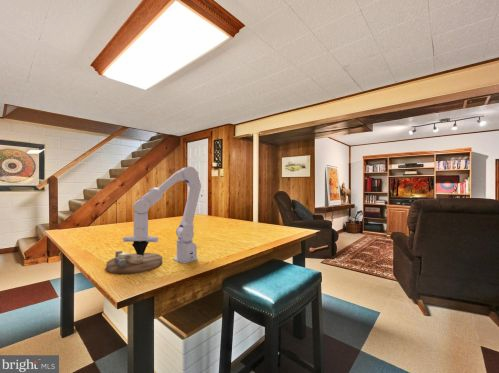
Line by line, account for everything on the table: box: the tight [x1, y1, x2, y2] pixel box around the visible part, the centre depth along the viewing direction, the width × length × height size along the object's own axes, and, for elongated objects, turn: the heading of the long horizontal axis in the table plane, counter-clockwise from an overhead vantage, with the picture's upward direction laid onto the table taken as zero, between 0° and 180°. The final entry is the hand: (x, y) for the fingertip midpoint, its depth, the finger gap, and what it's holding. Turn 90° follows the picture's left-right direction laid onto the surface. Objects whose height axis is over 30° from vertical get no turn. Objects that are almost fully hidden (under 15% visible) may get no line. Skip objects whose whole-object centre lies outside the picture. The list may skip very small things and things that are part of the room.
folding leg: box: [114, 250, 143, 264], centre depth 101 cm, size 13×3×4 cm, turn 71°
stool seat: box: [105, 252, 163, 275], centre depth 103 cm, size 22×22×5 cm
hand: (140, 258), depth 103 cm, fingers closed
